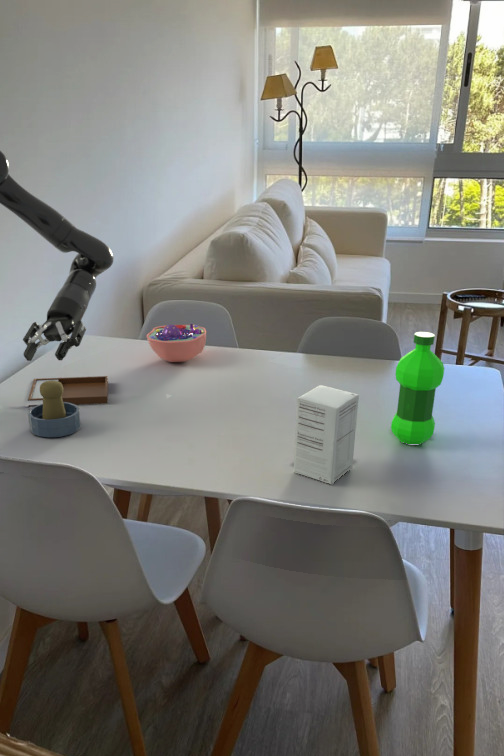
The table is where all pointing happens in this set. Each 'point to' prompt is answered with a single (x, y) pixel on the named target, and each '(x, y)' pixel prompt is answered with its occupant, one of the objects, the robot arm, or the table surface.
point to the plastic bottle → (417, 391)
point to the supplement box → (325, 433)
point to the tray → (80, 390)
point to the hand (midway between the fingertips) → (42, 358)
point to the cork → (52, 400)
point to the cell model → (177, 341)
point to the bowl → (54, 421)
